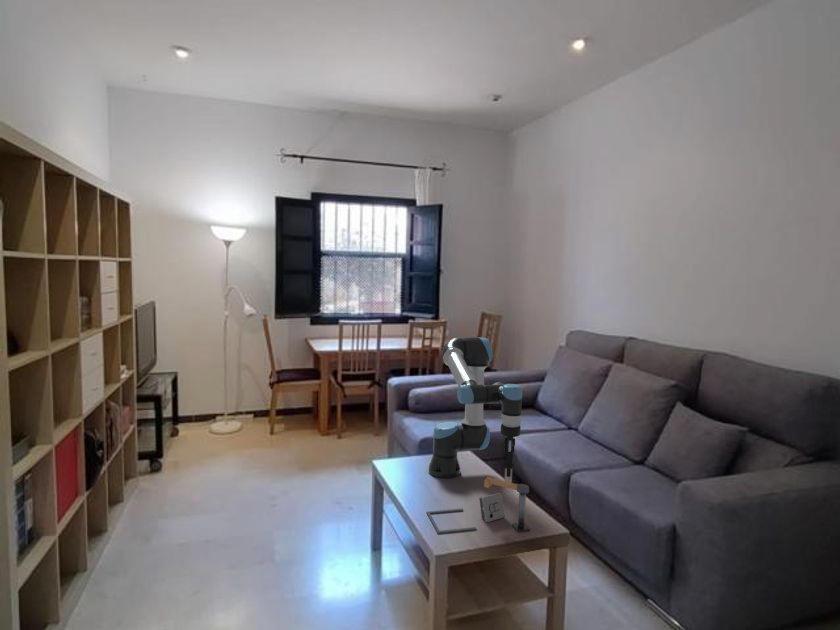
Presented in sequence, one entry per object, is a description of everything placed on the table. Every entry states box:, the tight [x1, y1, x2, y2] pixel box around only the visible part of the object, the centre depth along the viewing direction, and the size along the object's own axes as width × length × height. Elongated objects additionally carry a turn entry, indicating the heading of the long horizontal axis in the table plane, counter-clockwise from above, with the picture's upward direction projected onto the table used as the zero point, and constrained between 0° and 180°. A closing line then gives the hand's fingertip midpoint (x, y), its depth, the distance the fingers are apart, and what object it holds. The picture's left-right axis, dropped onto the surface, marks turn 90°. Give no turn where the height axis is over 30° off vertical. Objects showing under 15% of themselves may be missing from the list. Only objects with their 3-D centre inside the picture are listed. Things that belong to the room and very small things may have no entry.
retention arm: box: [483, 476, 530, 495], centre depth 189 cm, size 17×4×4 cm, turn 59°
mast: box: [511, 492, 531, 533], centre depth 187 cm, size 5×5×14 cm
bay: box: [425, 508, 478, 535], centre depth 191 cm, size 16×15×1 cm
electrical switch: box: [478, 492, 505, 523], centre depth 195 cm, size 9×5×9 cm, turn 121°
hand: (508, 483), depth 195 cm, fingers closed
